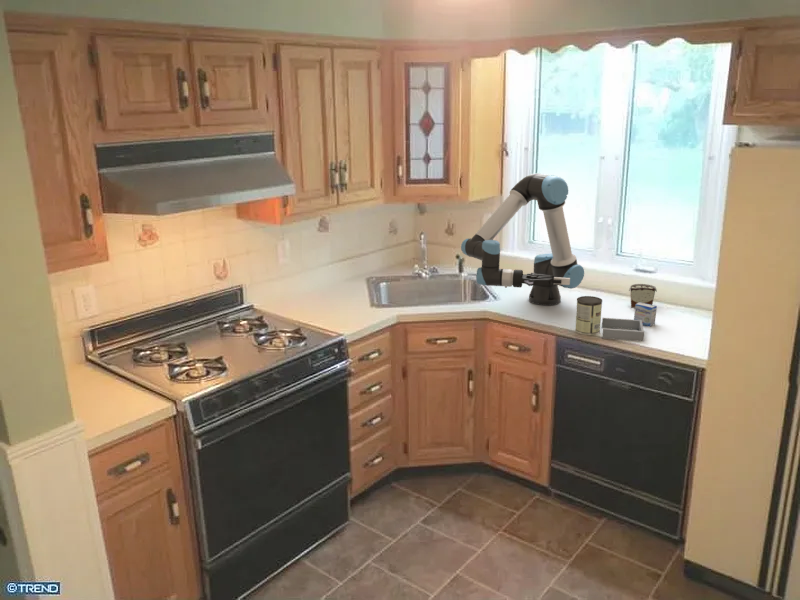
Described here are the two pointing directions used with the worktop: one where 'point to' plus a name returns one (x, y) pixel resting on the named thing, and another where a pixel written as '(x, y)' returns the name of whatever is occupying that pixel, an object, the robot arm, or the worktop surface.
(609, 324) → the frame
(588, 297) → the coffee can
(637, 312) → the medicine box
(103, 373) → the worktop surface
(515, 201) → the robot arm
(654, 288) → the food container
